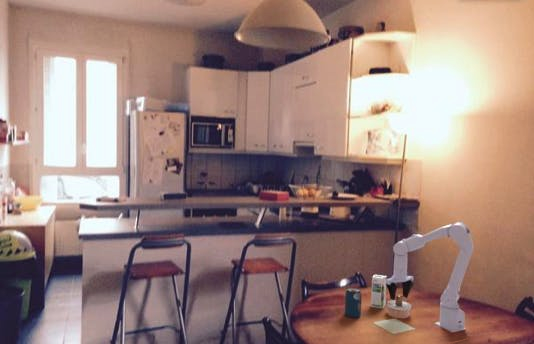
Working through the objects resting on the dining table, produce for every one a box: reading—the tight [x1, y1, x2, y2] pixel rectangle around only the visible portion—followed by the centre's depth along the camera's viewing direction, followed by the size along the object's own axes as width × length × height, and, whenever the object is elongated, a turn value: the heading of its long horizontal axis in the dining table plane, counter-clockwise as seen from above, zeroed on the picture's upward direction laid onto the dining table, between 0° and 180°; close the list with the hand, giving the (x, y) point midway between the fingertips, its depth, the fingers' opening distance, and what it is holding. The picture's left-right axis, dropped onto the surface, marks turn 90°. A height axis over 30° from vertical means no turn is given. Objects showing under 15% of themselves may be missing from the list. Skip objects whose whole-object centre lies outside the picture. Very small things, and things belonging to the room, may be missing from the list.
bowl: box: [387, 307, 410, 319], centre depth 193 cm, size 9×9×4 cm
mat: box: [373, 317, 416, 335], centre depth 180 cm, size 12×12×1 cm
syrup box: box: [370, 274, 388, 309], centre depth 203 cm, size 6×6×14 cm
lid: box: [385, 294, 413, 312], centre depth 193 cm, size 11×11×5 cm
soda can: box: [344, 287, 363, 319], centre depth 190 cm, size 7×7×12 cm
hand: (398, 298), depth 193 cm, fingers open, 7 cm apart
